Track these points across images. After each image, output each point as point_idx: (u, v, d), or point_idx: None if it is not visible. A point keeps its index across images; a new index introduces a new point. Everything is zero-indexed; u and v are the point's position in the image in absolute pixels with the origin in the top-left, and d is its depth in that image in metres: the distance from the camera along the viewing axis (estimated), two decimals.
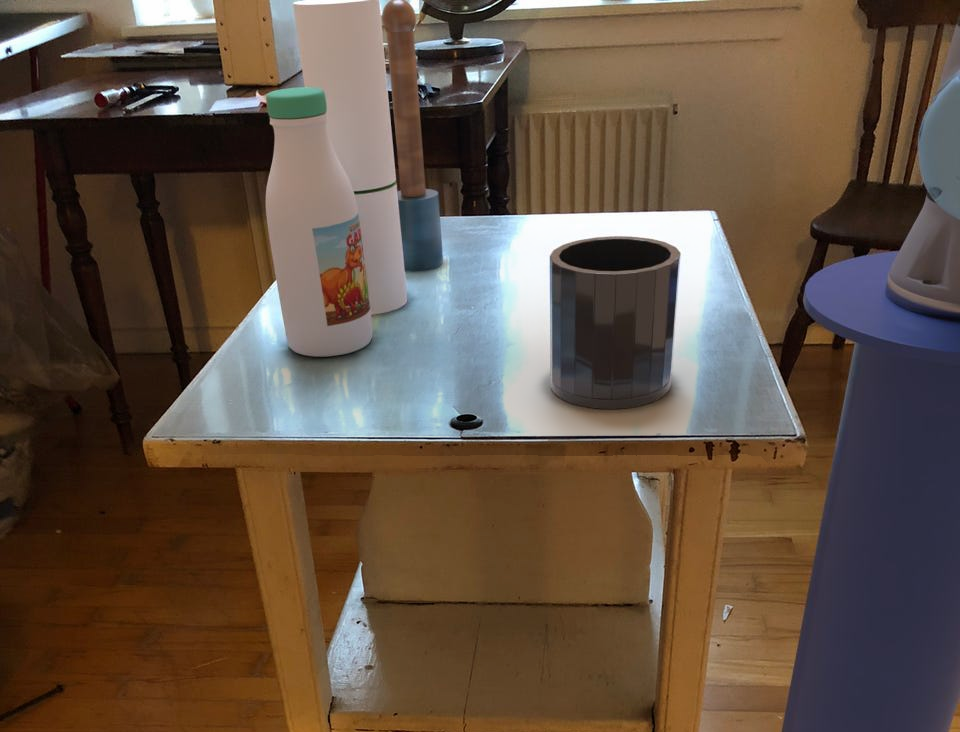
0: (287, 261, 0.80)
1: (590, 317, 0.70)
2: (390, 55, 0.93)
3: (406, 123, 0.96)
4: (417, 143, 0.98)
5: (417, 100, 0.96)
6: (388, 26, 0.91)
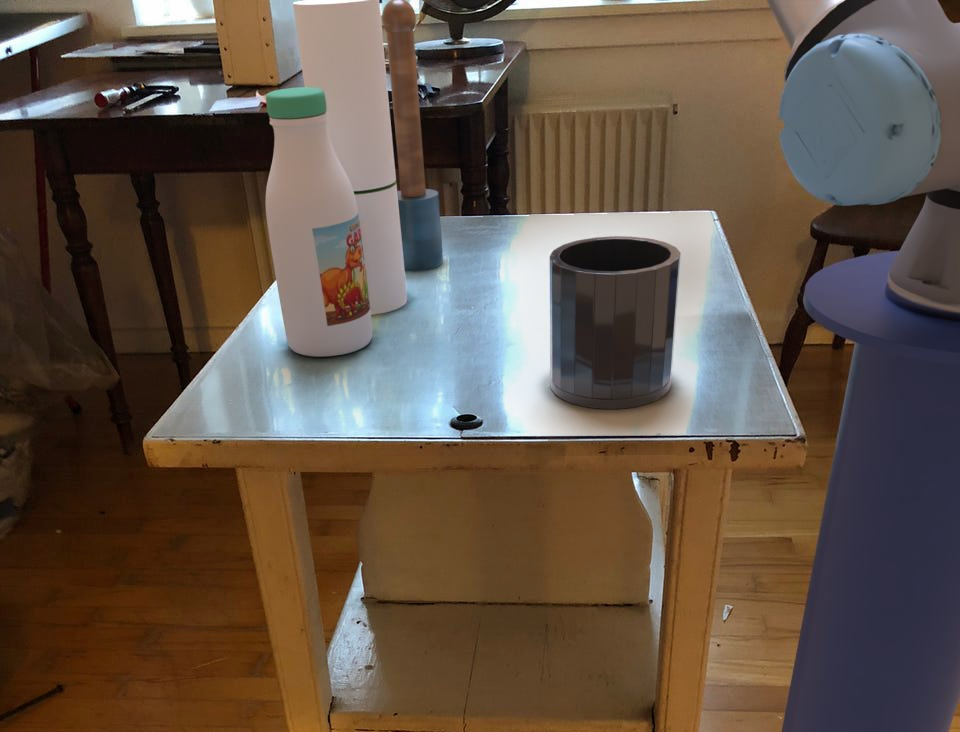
0: (287, 261, 0.80)
1: (590, 317, 0.70)
2: (390, 55, 0.93)
3: (406, 123, 0.96)
4: (417, 143, 0.98)
5: (417, 100, 0.96)
6: (388, 26, 0.91)
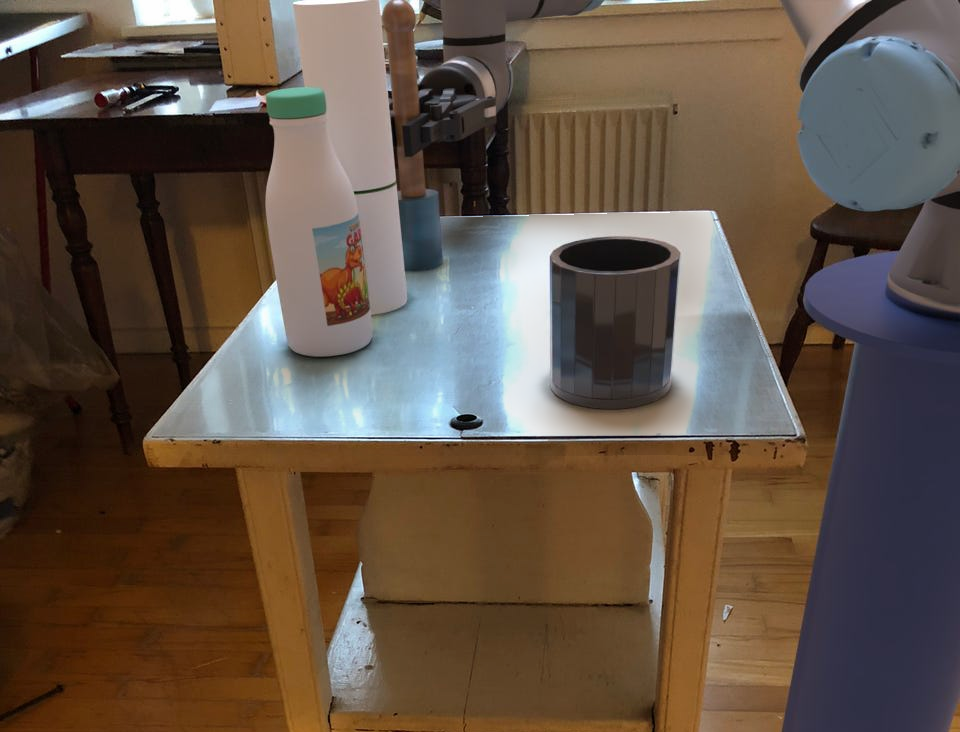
0: (287, 261, 0.80)
1: (590, 317, 0.70)
2: (390, 55, 0.93)
3: None
4: None
5: (417, 100, 0.96)
6: (388, 26, 0.91)
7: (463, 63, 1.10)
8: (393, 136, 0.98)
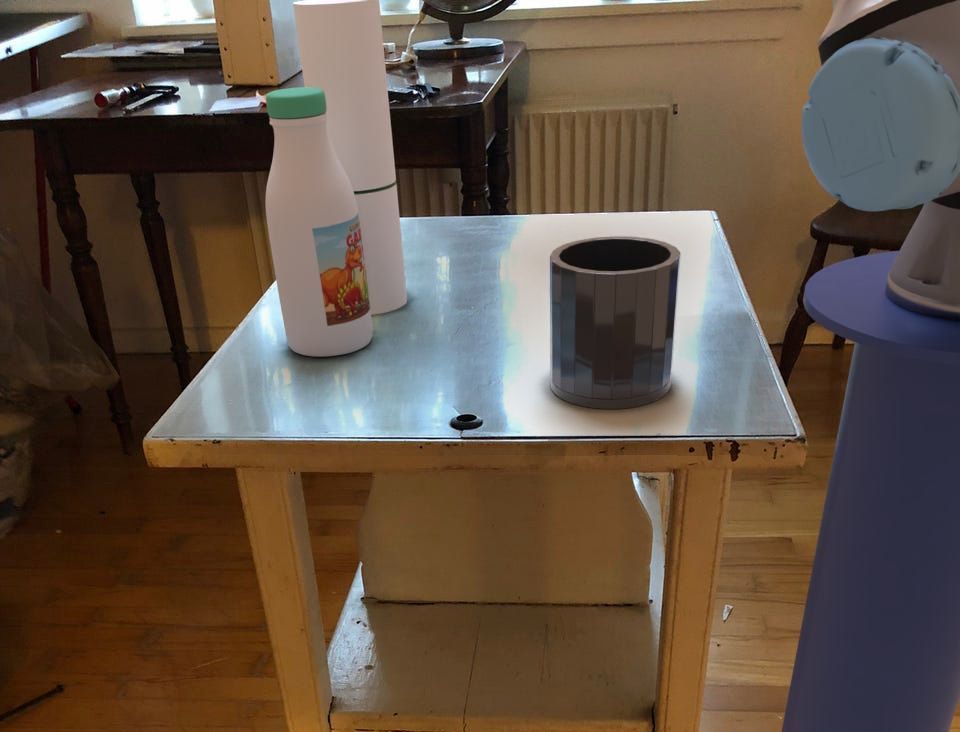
0: (287, 261, 0.80)
1: (590, 317, 0.70)
2: None
3: None
4: None
5: None
6: None
7: None
8: None
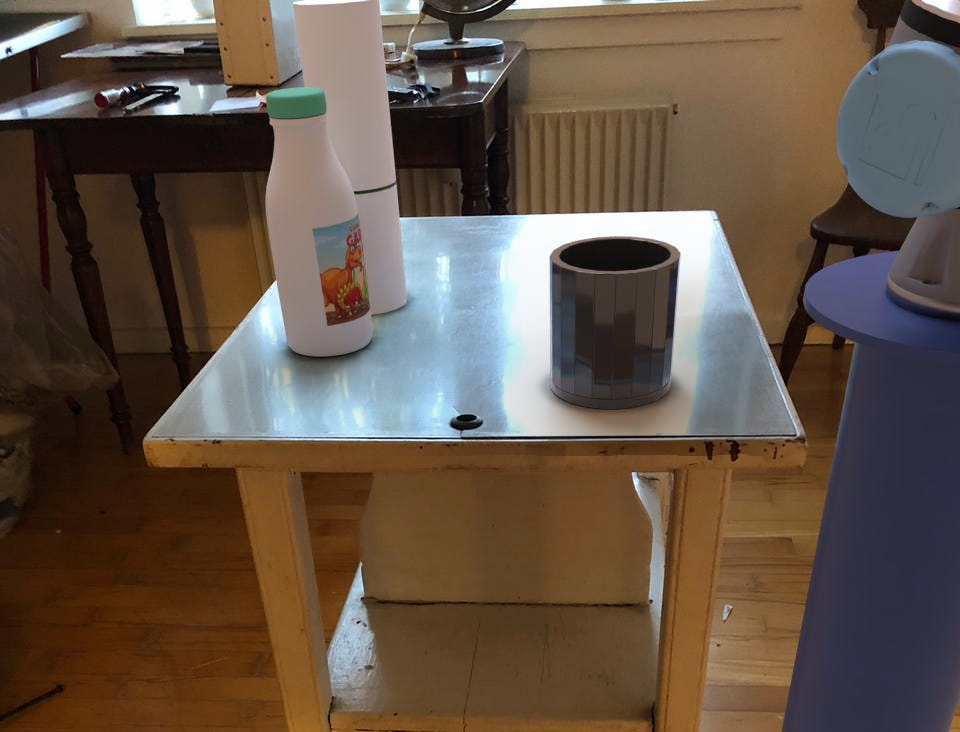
0: (287, 261, 0.80)
1: (590, 317, 0.70)
2: None
3: None
4: None
5: None
6: None
7: None
8: None
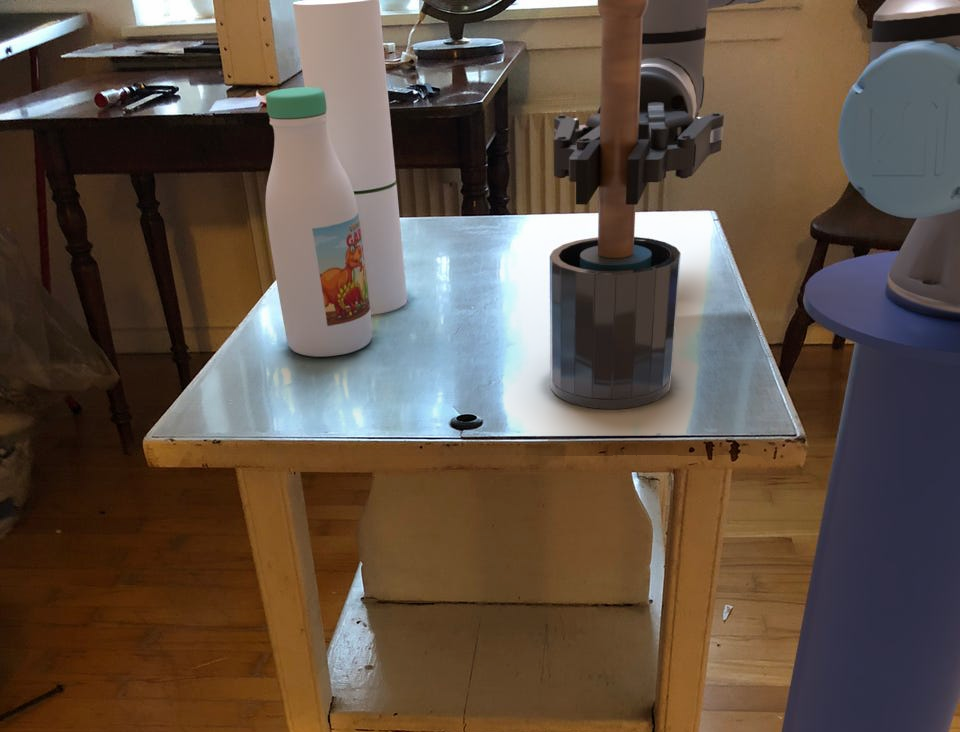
0: (287, 261, 0.80)
1: (590, 317, 0.70)
2: (606, 55, 0.63)
3: (620, 154, 0.66)
4: None
5: (638, 120, 0.65)
6: (609, 11, 0.61)
7: (663, 67, 0.79)
8: (597, 173, 0.67)
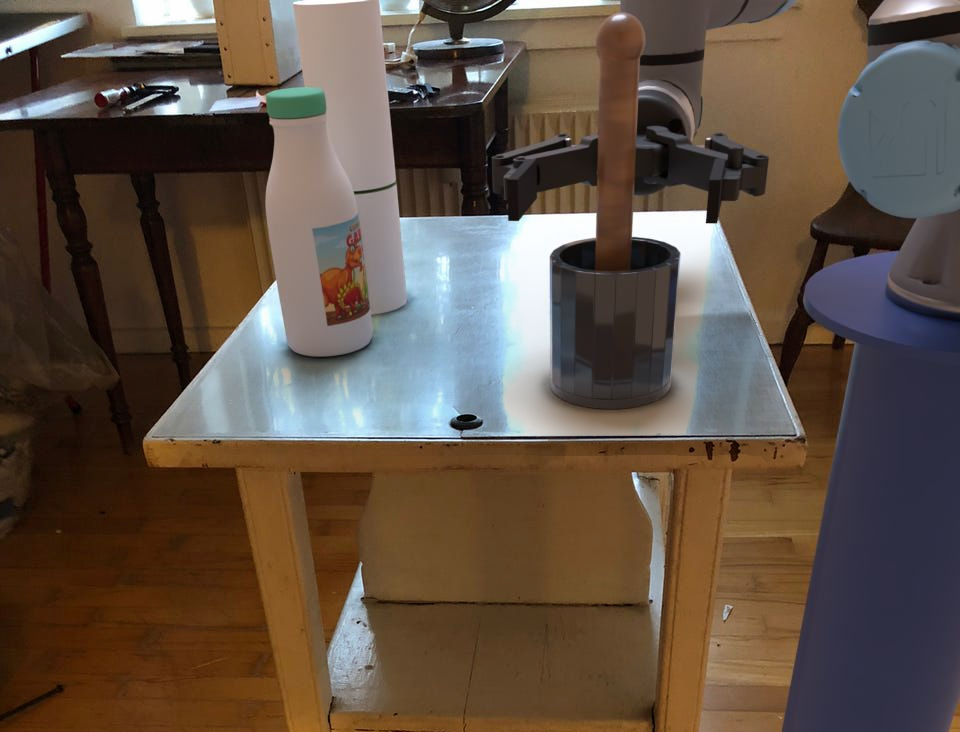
0: (287, 261, 0.80)
1: (590, 317, 0.70)
2: (604, 94, 0.64)
3: (617, 190, 0.67)
4: (628, 217, 0.69)
5: (634, 157, 0.67)
6: (607, 53, 0.63)
7: (661, 90, 0.80)
8: (531, 190, 0.71)
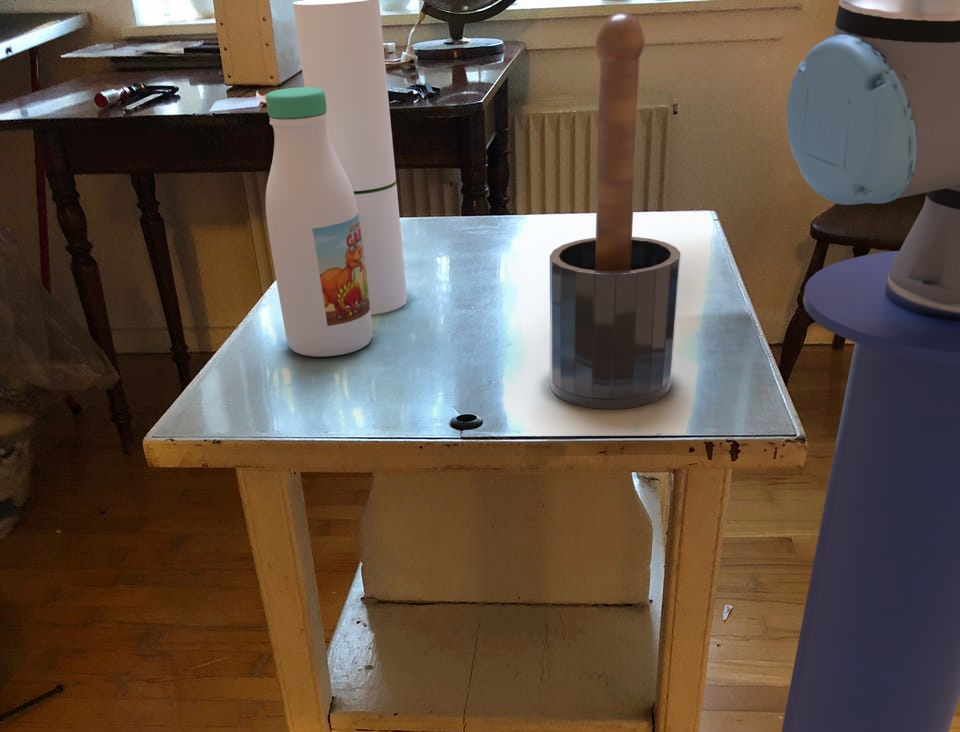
0: (287, 261, 0.80)
1: (590, 317, 0.70)
2: (604, 94, 0.64)
3: (617, 190, 0.67)
4: (628, 217, 0.69)
5: (634, 157, 0.67)
6: (607, 53, 0.63)
7: None
8: None
